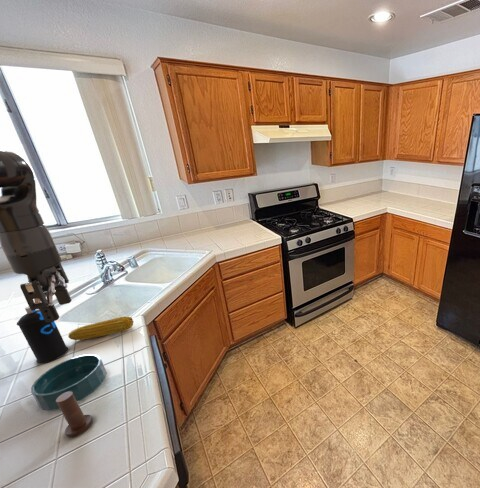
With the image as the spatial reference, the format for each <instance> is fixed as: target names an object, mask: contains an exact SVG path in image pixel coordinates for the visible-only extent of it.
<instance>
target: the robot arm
mask: <svg viewBox="0 0 480 488" xmlns="http://www.w3.org/2000/svg"><path fill="white" fill-rule="evenodd" d="M36 187H37V186H36V176H35V171H34V170H33V168H32V166H31V165H30V164H29V162H28V161H27V160H26V159H25V158H24V157H23V156H21V155H19V154H18V153H16V152H13V151H8V150H0V247H1V250H2V252H3V254H4V255H5V257H6V259H7V262H8V264H9V266H10V267H11V269H12V272H13V273H14V274H16V275H25V276H27V282H25V283H21V284H20V286H19V288H20V290H21V292H22V294H23V297H24V298H25V301H26V303H27V305H28V306H29V307H30V309H31V310H40V312H41V314H42V316H43V318H44V320H45V322H52V321H54V322H57V321H59V319H60V315H59V313H58V310H57V307H56V306H55V304H54V300H53V296H55V298H56V300H57V302H58V304H59V305H60V306H63V305H67V304H70V303H71V302H72V301H73V300H72V297H71V296H70V292H69V291H68V284H69V283H70V280H69V278H68V275H67V274H66V272H65V269H64V267H63V265H62V258H61V255H60V252H59V251H58V248H57V246H56V244H55V240H54V238H53V236H52V234H51V232H50V231H49V229H48V227H47V226H46V224H45V221H44V220H43V217H42V215H41V212H40V210H39V208H38V205H37V188H36Z"/></svg>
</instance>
